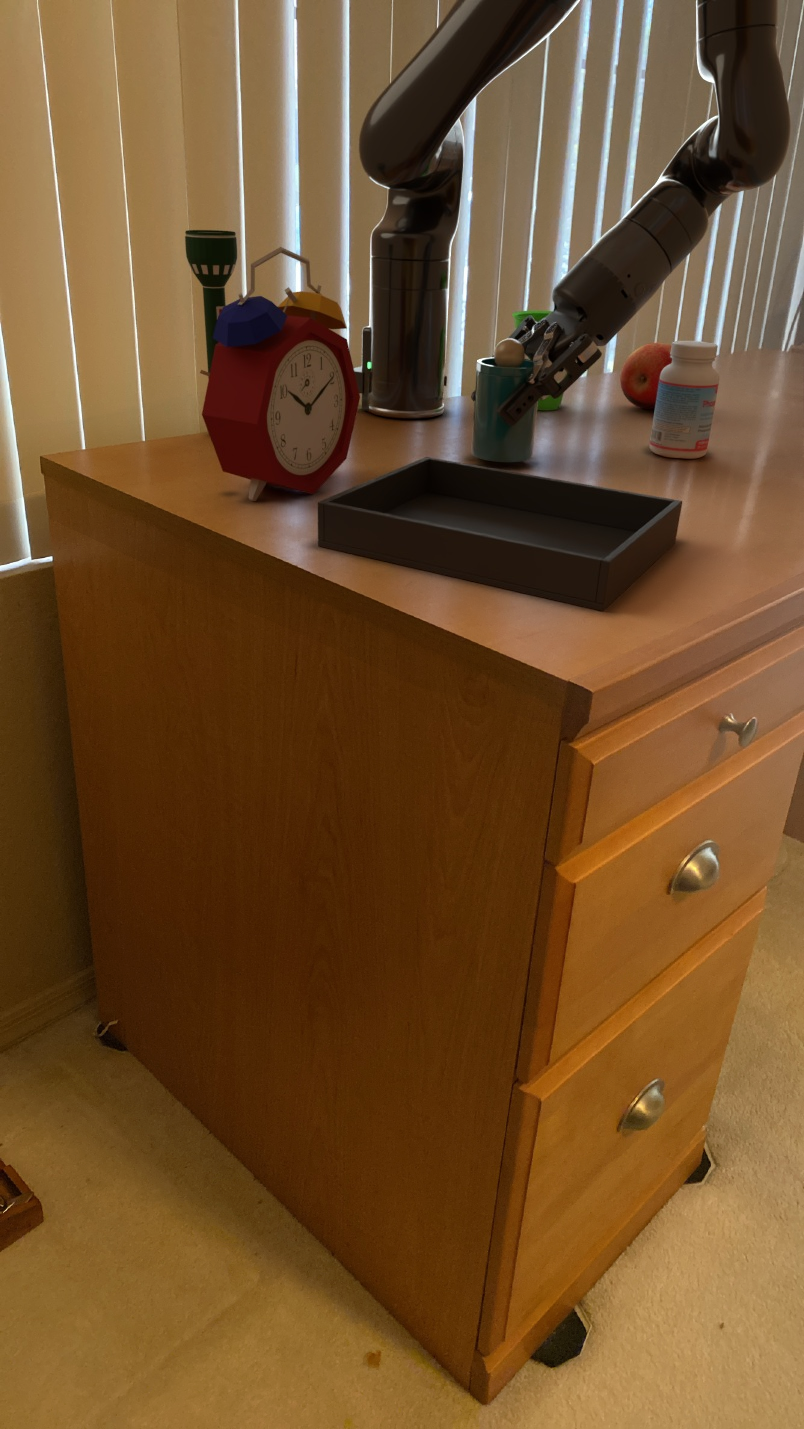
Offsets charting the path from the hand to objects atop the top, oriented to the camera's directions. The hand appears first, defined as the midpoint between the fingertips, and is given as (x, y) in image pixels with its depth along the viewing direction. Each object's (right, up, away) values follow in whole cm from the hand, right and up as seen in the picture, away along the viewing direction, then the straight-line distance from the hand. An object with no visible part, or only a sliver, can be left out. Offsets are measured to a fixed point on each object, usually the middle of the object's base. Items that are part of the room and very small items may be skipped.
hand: (490, 411), depth 98 cm
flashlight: (-29, 0, +9) cm, 30 cm away
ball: (+2, +5, -2) cm, 6 cm away
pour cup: (+1, -4, +3) cm, 5 cm away
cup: (+9, +9, +29) cm, 31 cm away
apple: (+23, +9, +30) cm, 39 cm away
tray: (-1, -17, -20) cm, 26 cm away
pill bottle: (+21, -2, +8) cm, 23 cm away
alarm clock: (-20, -10, -8) cm, 24 cm away
